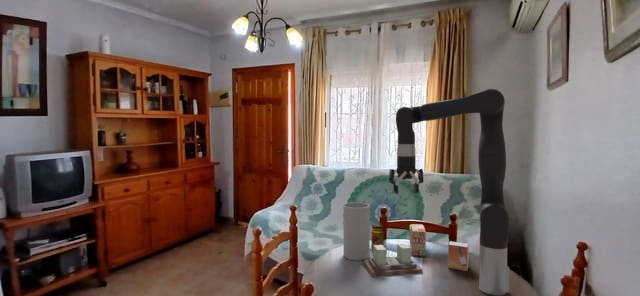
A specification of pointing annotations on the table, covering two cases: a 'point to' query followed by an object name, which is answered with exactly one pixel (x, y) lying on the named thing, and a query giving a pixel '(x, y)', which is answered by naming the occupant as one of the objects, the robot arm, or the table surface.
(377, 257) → the block
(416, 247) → the stack of blocks
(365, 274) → the table surface
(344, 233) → the cylinder vase
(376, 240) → the condiment
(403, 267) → the tray
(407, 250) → the loose block
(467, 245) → the small box
